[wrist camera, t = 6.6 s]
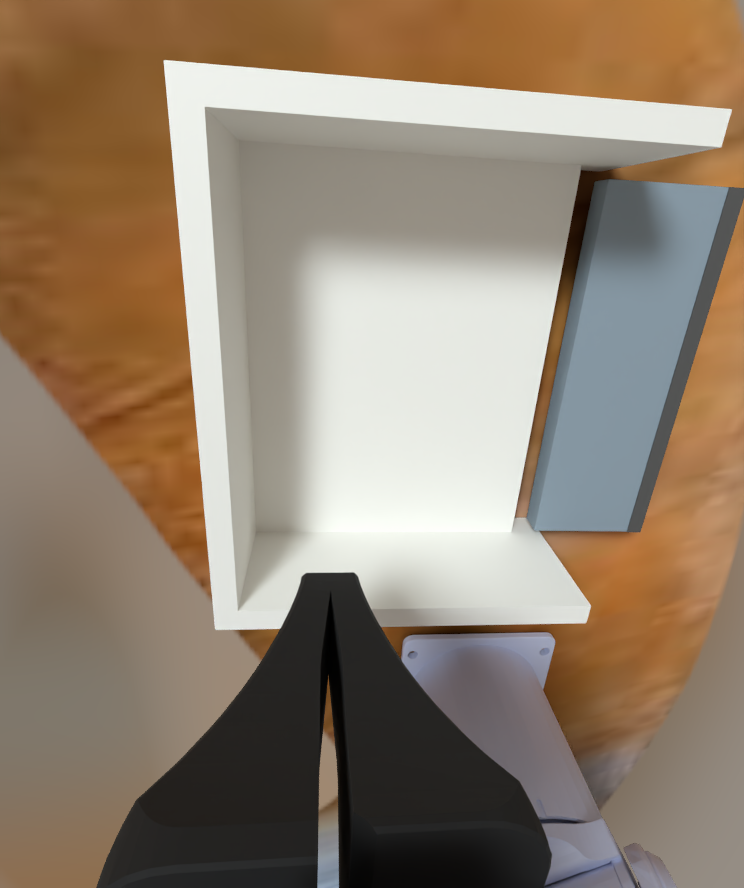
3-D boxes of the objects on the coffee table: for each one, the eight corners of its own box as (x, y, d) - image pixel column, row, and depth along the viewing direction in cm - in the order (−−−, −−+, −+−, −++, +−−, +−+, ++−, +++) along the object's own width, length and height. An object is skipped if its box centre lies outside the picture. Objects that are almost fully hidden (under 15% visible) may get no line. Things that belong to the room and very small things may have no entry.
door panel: (526, 517, 23) (627, 518, 23) (534, 531, 22) (640, 532, 22) (594, 182, 17) (723, 190, 18) (609, 178, 16) (746, 188, 17)
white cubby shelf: (526, 532, 24) (586, 623, 18) (242, 532, 23) (215, 629, 17) (606, 145, 18) (731, 109, 12) (218, 115, 16) (163, 60, 11)
